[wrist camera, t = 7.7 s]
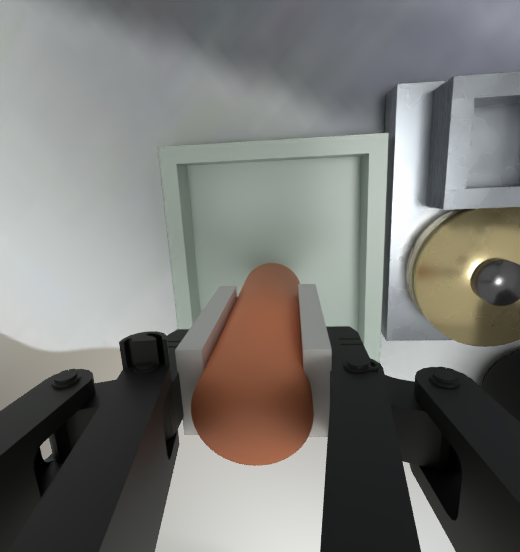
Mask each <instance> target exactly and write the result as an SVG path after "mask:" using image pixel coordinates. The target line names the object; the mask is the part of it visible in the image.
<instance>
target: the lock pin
mask: <svg viewBox="0 0 520 552" xmlns="http://www.w3.org/2000/svg"><path fill="white" fill-rule="evenodd" d="M298 284H300V282H299V279H298V277H297V276H296V274H295V273H294V272H293V271H292V270H291V269H289V268H288V267H286V266H284V265H281V264H277V263H266V264H263V265H260V266H258V267H256V268H255V269H253V270H252V271H251V272H250V274H249V275H248V276H247V278H246V280H245V282H244V285H243V287H242V289H241V291H240V293H239V295H238V297H237V300H236V302H235V304H234V306H233V308H232V310H231V313H230V315H229V317H228V319H227V321H226V323H225V325H224V328H223V330H222V332H221V334H220V336H219V338H218V340H217V343H216V345H215V347H214V349H213V351H212V353H211V355H210V358H209V360H208V362H207V364H206V366H205V368H204V370H203V373H202V375H201V377H200V379H199V381H198V383H197V386H196V388H195V390H194V392H193V396H192V400H191V416H192V421H193V424H194V427H195V429H196V431H197V433H198V435H199V436H200V438H201V439H202V440H203V441H204V443H205V444H206V445H207V446H208V447H209V448H210V449H211V450H213V451H214V452H215V453H217V454H218V455H220V456H222V457H223V458H225V459H228V460H230V461H233V462H236V463H239V464H244V465H254V466H255V465H268V464H272V463H276V462H279V461H281V460H284V459H286V458H288V457H289V456H291V455H292V454H294V453H295V452H296V451H297V450H299V448H301V447H302V445H303V444H304V443H305V442H306V440H307V438H308V436H309V434H310V432H311V429H312V425H313V419H314V411H313V400H312V391H311V386H310V383H309V380H308V377H307V375H306V374H305V372H304V370H303V355H302V341H301V326H300V312H299V296H298Z"/></svg>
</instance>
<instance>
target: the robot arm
mask: <svg viewBox="0 0 520 552" xmlns="http://www.w3.org/2000/svg"><path fill="white" fill-rule="evenodd" d="M298 296H299V312H300V326H301V341H302V355H303V370H304V372H305V374H306V375H307V377H308V380H309V383H310V386H311V391H312V400H313V411H314V419H313V425H312V429H311V432H310V434H309V436H308V437H328V444H327V458H326V473H325V488H324V489H325V490H324V504H323V505H324V506H323V519H322V535H321V549H320V552H421V550H420V545H419V540H418V535H417V530H416V526H415V521H414V516H413V511H412V506H411V501H410V497H409V491H408V487H407V482H406V477H405V472H404V467H403V462H402V461H404V462H408V463H410V467H411V471H412V473H413V475H414V476H415V478H416V480H417V482H418V483H419V485H420V487H421V489H422V491H423V493H424V494H425V496H426V498H427V500H428V502H429V504H430V505H431V507H432V509H433V511H434V513H435V514H436V516H437V518H438V520H439V522H440V523H441V525H442V527H443V529H444V531H445V532H446V534H447V536H448V538H449V540H450V542H451V543H452V545H453V547H454V549H455V551H456V552H520V422H519V421H518V420H517V419H516V418H515V417H513V416H512V415H511V414H510V413H509V412H508V411H507V410H505V409H504V408H503V407H502V406H501V405H500V404H499V403H498V402H496V401H495V400H494V399H493V398H492V397H491V396H490V395H489V394H487V393H486V392H485V391H484V390H483V389H482V388H481V387H480V386H478V385H477V384H476V383H475V382H474V381H473V380H472V379H470V378H469V377H467V376H466V375H464V374H462V373H460V372H457V371H455V370H453V369H450V368H447V369H446V368H445V367H429V368H423V369H421V370H419V371H417V373H416V375H415V382H412V381H406V380H400V379H396V378H392V377H389V376H387V375H384V371H383V368H382V366H381V364H380V363H378V362H377V361H375V360H373V359H370V357H369V355H368V353H367V351H366V349H365V346H364V345H363V342H362V340H361V338H360V335H359V333H358V332H357V331H356V330H354V329H353V328H351V327H350V326H326V325H325V321H324V317H323V313H322V309H321V305H320V301H319V297H318V292H317V288H316V284H298ZM236 300H237V289H236V286H220V287H219V288H218V289H217V291H216V292H215V294H214V295H213V297H212V298H211V299H210V301H209V302H208V304H207V305H206V307H205V308H204V309H203V311H202V312H201V314H200V315H199V317H198V318H197V319H196V321H195V322H194V324H193V325H192V327H191V328H190V329H178V330H176V331H174V332H172V333H171V334H169V335H168V336H166V335H165V334H164V333H160V332H142V333H137V334H134V335H130V336H128V337H126V338H124V339H123V340H121V341H120V342H119V345H120V351H121V358H122V365H123V371H122V372H121V374H120V375H119V377H118V378H117V380H112V381H107V382H100V383H95V384H94V379H93V374H92V372H90V371H89V370H84V369H70V370H69V371H68V370H65V371H62V372H60V373H58V374H56V375H53V376H51V377H49V378H48V379H46V380H44V381H43V382H42V383H40V384H39V385H37V386H36V387H34V388H33V389H31V390H30V391H29V392H27V393H26V394H24V395H23V396H21V397H20V398H18V399H17V400H16V401H14V402H13V403H11V404H10V405H8V406H7V407H6V408H4V409H3V410H1V411H0V552H155V548H156V543H157V539H158V535H159V530H160V525H161V521H162V517H163V513H164V508H165V504H166V500H167V495H168V491H169V487H170V482H171V478H172V473H173V469H174V465H175V460H176V456H177V451H178V447H179V436H178V427H179V425H180V423H181V421H182V419H183V426H184V434H185V435H198V433H197V431H196V429H195V427H194V424H193V421H192V416H191V400H192V396H193V392H194V390H195V388H196V386H197V383H198V381H199V379H200V377H201V375H202V373H203V370H204V368H205V366H206V364H207V362H208V360H209V358H210V355H211V353H212V351H213V349H214V347H215V345H216V343H217V340H218V338H219V336H220V334H221V332H222V330H223V328H224V325H225V323H226V321H227V319H228V317H229V315H230V313H231V310H232V308H233V306H234V304H235V302H236ZM47 438H49V439H50V444H51V449H52V454H51V455H50V456H49V457H48V458H47V459H45V460H43V458H42V455H41V450H40V446H41V444H42V443H43V442H44V441H45V440H46V439H47Z"/></svg>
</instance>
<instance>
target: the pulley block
mask: <svg viewBox="0 0 520 552" xmlns="http://www.w3.org/2000/svg"><path fill="white" fill-rule="evenodd" d="M384 133H389V136H388V161H387V187H386V212H385V238H384V264H383V289H382V315H381V332H382V334H383V336H384V337H385V339H386V341H388V340H455V341H457V342H460V343H463V344H467V345H473V346H484V347H487V346H498V345H503V344H507V343H511V342H514V341H517V340H520V72H507V73H493V74H480V75H466V76H454V77H452V78H451V79H449V80H448V81H435V82H421V83H407V84H397V85H396V86H395V87H394V88H393V89H392V90H391V91H390V92H389V93H388V94H387V95H386V105H385V132H384Z"/></svg>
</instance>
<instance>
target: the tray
mask: <svg viewBox="0 0 520 552" xmlns="http://www.w3.org/2000/svg"><path fill="white" fill-rule="evenodd" d="M388 136H389V133H378V134H361V135H344V136H328V137H311V138H295V139H278V140H261V141H245V142H228V143H211V144H195V145H178V146H161V147H158V154H159V163H160V172H161V181H162V190H163V199H164V208H165V217H166V226H167V235H168V244H169V253H170V261H171V270H172V279H173V288H174V297H175V306H176V315H177V324H178V329H190V328H191V327H192V325H193V324H194V322H195V321H196V319H197V318H198V317H199V315H200V314H201V312H202V311H203V309H204V308H205V307H206V305H207V304H208V302H209V301H210V299H211V298H212V297H213V295H214V294H215V292H216V291H217V289H218V288H219V287H220V286H236V289H237V297H238V295H239V293H240V291H241V289H242V287H243V285H244V282H245V280H246V278H247V276H248V275H249V274H250V272H251V271H252V270H253V269H255V268H256V267H258V266H260V265H263V264H266V263H277V264H281V265H284V266H286V267H288V268H289V269H291V270H292V271H293V272H294V273H295V274H296V276H297V277H298V279H299V282H300V284H316V288H317V292H318V297H319V301H320V305H321V309H322V313H323V317H324V321H325V325H326V326H350V327H351V328H353V329H354V330H356V331H357V332H358V333H359V335H360V338H361V340H362V342H363V345H364V346H365V349H366V351H367V353H368V355H369V357H370V359H373V360H375V361H377V362H378V363H380V340H381V315H382V289H383V264H384V238H385V212H386V187H387V161H388Z"/></svg>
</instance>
